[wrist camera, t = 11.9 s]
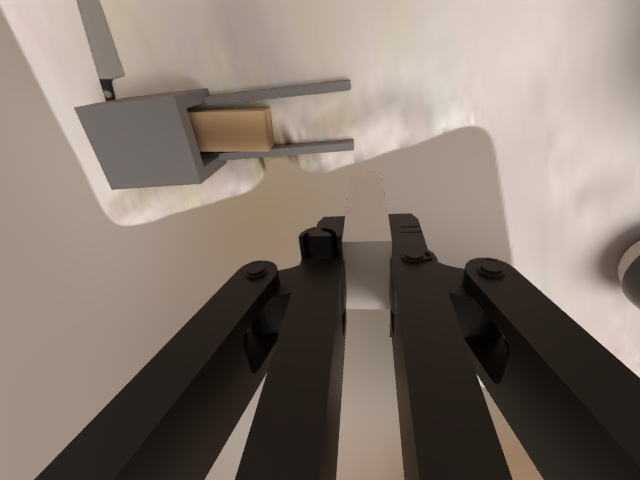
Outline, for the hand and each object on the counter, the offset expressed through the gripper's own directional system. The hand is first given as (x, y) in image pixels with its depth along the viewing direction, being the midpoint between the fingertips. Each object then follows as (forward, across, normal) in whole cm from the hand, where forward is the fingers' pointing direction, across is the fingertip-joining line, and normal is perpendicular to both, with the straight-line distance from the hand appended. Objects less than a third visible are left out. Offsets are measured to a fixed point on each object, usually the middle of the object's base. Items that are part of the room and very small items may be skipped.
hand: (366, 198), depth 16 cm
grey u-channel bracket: (+20, -14, +1) cm, 25 cm away
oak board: (+21, -17, +1) cm, 27 cm away
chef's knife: (+21, -26, +9) cm, 35 cm away
